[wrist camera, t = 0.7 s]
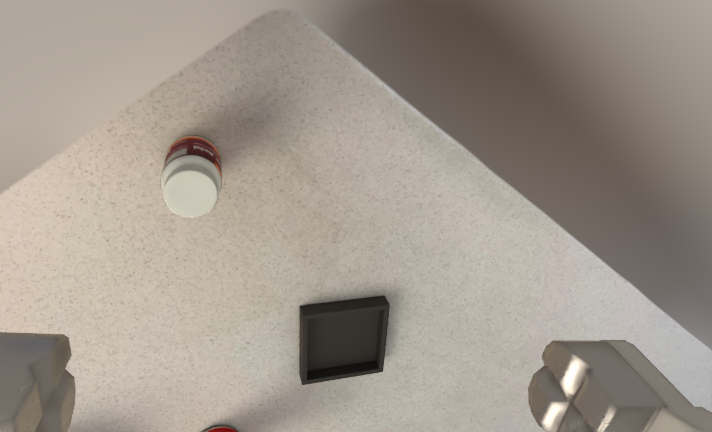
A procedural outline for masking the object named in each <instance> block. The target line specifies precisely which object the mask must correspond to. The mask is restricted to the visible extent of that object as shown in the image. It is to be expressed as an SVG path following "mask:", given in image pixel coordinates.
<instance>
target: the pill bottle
mask: <svg viewBox="0 0 712 432" xmlns="http://www.w3.org/2000/svg"><path fill="white" fill-rule="evenodd" d="M160 184H161V189H162V192H163V194H164V199H165V202H166V204H167V206H168V207H169V208H170V209H171V210H172V211H173V212H174V213H176V214H178V215H180V216H183V217H187V218H196V217H200V216H203V215H205V214H207V213H208V212H210V211H211V210H212V209H213V207H214V206H215V204H216V202H217V199H218V196H219V194H220V192H221V188H222V174H221V160H220V155H219V152H218V150H217V149H216V147H215V146H214V145H213V144H212V143H211V142H210V141H208V140H207V139H205V138H202V137H199V136H186V137H182V138H180V139H178V140H176V141H175V142H174V143H173V144H172V145H171V146H170V148H169V149H168V152H167V155H166V159H165V163H164V167H163V171H162V174H161V180H160Z"/></svg>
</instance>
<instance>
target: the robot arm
mask: <svg viewBox="0 0 712 432" xmlns="http://www.w3.org/2000/svg"><path fill="white" fill-rule="evenodd" d="M70 357H71V349H70V343H69V338H68V337H67V336H65V335H64V334H36V333H7V332H0V432H67V431H68V429H69V426H70V423H71V419H72V414H73V410H74V405H75V380H74V377H73V376H72V375H71V374H70V373H69V372H68V371H67V370H66V369H65V368H66V366H67V363H68V361H69V359H70ZM542 360H543V362H544V365H545V366H543V367H542V368H541V369H540V370H538V371H537V372H536V373H535V374H534V375H533V377H532V380H531V382H530V385H529V388H528V395H529V405H530V408H531V412H532V415H533V416H534V418H535V420H536V422H537V423H538V425H539V426H540V427H541V428H542V429H544V430H545V431H546V432H712V412H710V411H708V410H706V409H705V408H703V407H694V406H693V405H692V404H691V403H690V402H689V401H688V400H687V399H686V398H685V397H684V396H683V395H682V394H681V393H680V392H679V391H678V390H677V389H676V388H675V387H674V385H673V384H672V383H671V382H670V381H669V380H668V379H667V378H666V377H665V376H664V375H663V374H662V373H661V372H660V371H659V370H658V369H657V368H656V367H655V366H654V365H653V364H652V363H651V362H650V361H649V360H648V359H647V358H646V357H645V356H644V355H643V354H642V353H641V352H640V351H639V350H638V349H637V348H636V347H635V346H634V345H633V344H631V343H629V342H627V341H625V340H601V341H552V342H551V343H550V344H548V345H547V346H546V348H545V350H544V352H543V354H542Z"/></svg>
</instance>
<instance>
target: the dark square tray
mask: <svg viewBox="0 0 712 432" xmlns="http://www.w3.org/2000/svg"><path fill="white" fill-rule="evenodd" d="M389 307H390V305H389V303H388V301H387V299H386V297H385V296H379V297H370V298H362V299H354V300H345V301H337V302H329V303H320V304H312V305H304V306H300V378H301V382H302V385H305V384H311V383H317V382H323V381H329V380H336V379H342V378H348V377H354V376H360V375H366V374H372V373H378V372H383V366H384V356H385V346H386V337H387V327H388V317H389Z"/></svg>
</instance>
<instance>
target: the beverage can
mask: <svg viewBox="0 0 712 432" xmlns="http://www.w3.org/2000/svg"><path fill="white" fill-rule="evenodd" d="M205 432H237V431H236V430H234V429H233V428H231V427H227V426H219V427H214V428H211V429H209V430H207V431H205Z"/></svg>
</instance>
